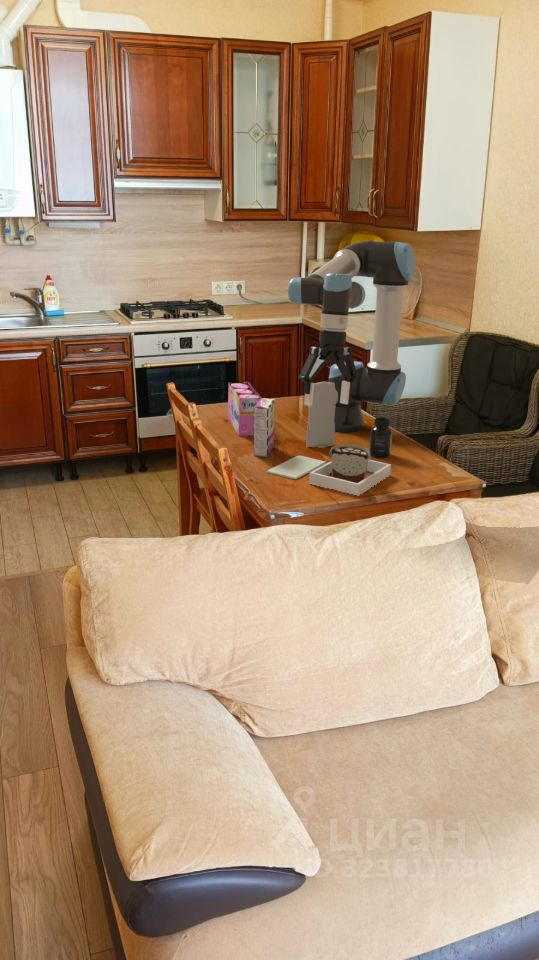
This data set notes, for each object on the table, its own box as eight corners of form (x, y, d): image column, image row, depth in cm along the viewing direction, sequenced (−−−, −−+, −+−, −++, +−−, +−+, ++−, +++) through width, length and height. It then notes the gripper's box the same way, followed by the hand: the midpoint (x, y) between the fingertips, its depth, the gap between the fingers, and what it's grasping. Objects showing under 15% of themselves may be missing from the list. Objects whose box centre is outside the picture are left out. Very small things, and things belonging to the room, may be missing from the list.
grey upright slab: (332, 443, 263) (336, 379, 255) (337, 446, 259) (341, 382, 251) (303, 445, 260) (305, 380, 252) (307, 449, 256) (310, 383, 248)
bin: (343, 464, 243) (344, 453, 241) (390, 475, 235) (390, 464, 233) (309, 483, 226) (309, 472, 225) (357, 496, 218) (358, 484, 217)
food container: (372, 479, 231) (375, 447, 228) (368, 486, 226) (370, 453, 222) (332, 473, 235) (334, 442, 231) (327, 480, 230) (329, 448, 226)
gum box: (226, 417, 289) (226, 381, 284) (247, 416, 291) (247, 380, 286) (238, 436, 267) (239, 398, 263) (261, 435, 269) (262, 397, 264)
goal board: (298, 457, 248) (298, 455, 248) (325, 463, 243) (325, 461, 243) (267, 472, 234) (267, 470, 234) (295, 479, 229) (295, 477, 229)
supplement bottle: (394, 456, 252) (397, 420, 248) (379, 459, 248) (382, 423, 244) (379, 450, 257) (382, 415, 253) (364, 454, 253) (367, 418, 249)
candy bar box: (259, 445, 258) (260, 397, 253) (274, 446, 258) (275, 398, 252) (252, 456, 248) (253, 406, 242) (267, 457, 247) (269, 407, 242)
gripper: (307, 330, 208) (300, 408, 214) (374, 332, 223) (366, 405, 228) (290, 327, 214) (284, 403, 219) (356, 329, 229) (349, 400, 234)
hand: (326, 404), depth 224 cm, fingers open, 13 cm apart
